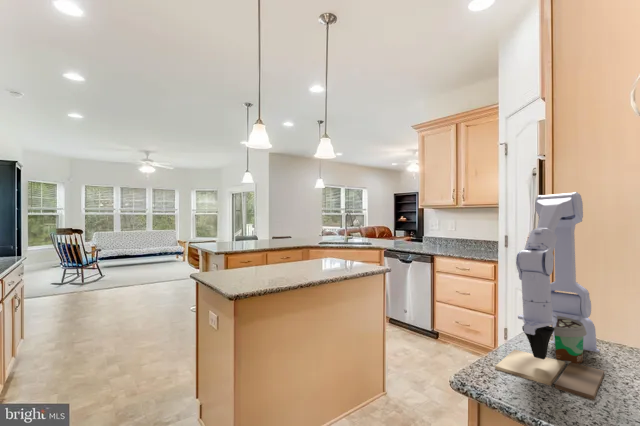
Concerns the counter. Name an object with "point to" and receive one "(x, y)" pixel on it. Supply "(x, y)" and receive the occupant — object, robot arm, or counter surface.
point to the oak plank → (531, 367)
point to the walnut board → (580, 380)
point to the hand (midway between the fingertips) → (539, 357)
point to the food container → (569, 340)
